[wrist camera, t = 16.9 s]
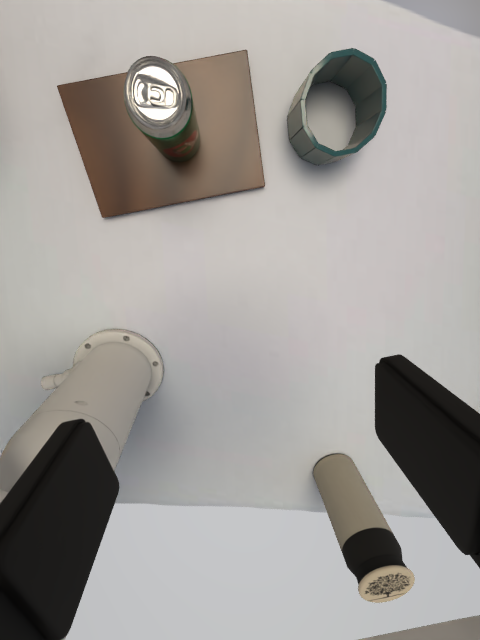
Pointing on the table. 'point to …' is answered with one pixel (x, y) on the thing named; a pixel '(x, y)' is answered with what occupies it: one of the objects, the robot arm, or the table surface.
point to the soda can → (162, 107)
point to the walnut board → (146, 161)
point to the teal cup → (364, 91)
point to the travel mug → (362, 531)
